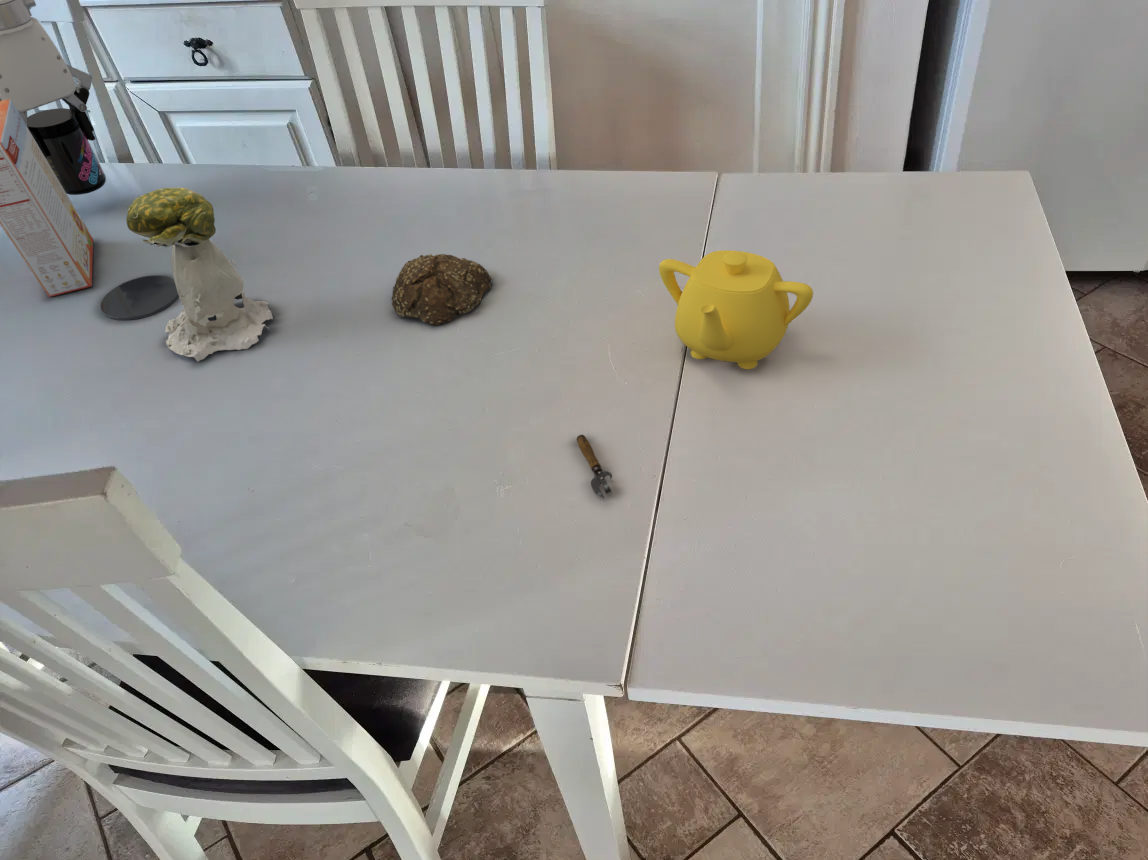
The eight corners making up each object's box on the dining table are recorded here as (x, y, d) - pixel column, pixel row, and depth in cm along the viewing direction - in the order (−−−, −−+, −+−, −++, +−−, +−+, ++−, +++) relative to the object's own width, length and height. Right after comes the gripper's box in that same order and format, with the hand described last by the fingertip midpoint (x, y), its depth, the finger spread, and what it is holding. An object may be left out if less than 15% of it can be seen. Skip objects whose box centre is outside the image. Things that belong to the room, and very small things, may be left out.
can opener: (576, 442, 90) (575, 435, 89) (597, 438, 90) (596, 430, 89) (596, 502, 84) (595, 495, 83) (619, 497, 84) (618, 489, 83)
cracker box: (51, 250, 123) (-39, 105, 107) (95, 240, 124) (13, 96, 109) (45, 299, 113) (-54, 149, 98) (93, 288, 115) (3, 138, 100)
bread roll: (414, 267, 115) (405, 234, 112) (499, 274, 113) (493, 241, 110) (375, 321, 107) (365, 288, 103) (467, 330, 105) (459, 296, 101)
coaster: (129, 328, 108) (128, 326, 108) (86, 305, 112) (85, 303, 112) (196, 290, 113) (194, 288, 113) (152, 270, 118) (151, 267, 117)
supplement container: (82, 199, 125) (46, 130, 118) (50, 192, 127) (12, 123, 120) (118, 180, 130) (85, 111, 122) (86, 173, 132) (51, 105, 124)
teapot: (649, 332, 103) (645, 245, 94) (750, 300, 107) (755, 214, 98) (702, 397, 94) (703, 308, 86) (810, 360, 98) (822, 271, 89)
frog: (166, 318, 109) (93, 185, 96) (267, 291, 112) (210, 159, 99) (171, 369, 102) (93, 232, 88) (279, 338, 105) (219, 202, 92)
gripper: (44, -6, 118) (104, 121, 131) (-87, 29, 108) (-8, 164, 121) (73, 2, 115) (132, 132, 128) (-58, 39, 105) (20, 176, 118)
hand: (64, 146), depth 124 cm, fingers closed on supplement container, 6 cm apart
